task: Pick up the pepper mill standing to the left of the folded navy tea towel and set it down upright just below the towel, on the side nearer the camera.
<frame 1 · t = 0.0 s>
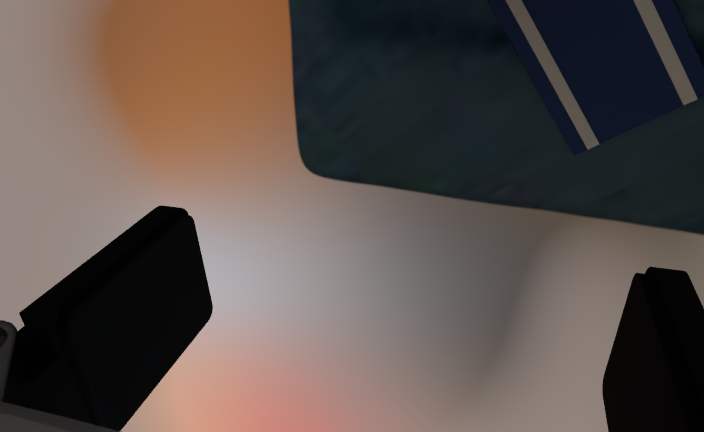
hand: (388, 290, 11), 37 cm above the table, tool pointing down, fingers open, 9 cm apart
tea towel: (584, 17, 40), on the table
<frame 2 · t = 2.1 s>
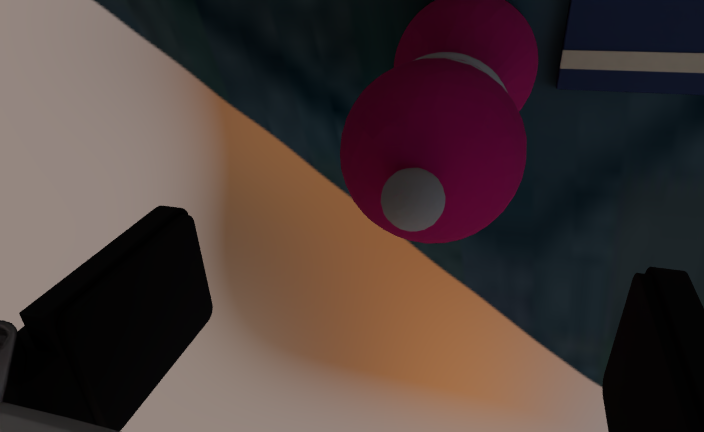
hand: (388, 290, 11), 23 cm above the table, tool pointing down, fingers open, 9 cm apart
pepper mill: (471, 48, 30), on the table
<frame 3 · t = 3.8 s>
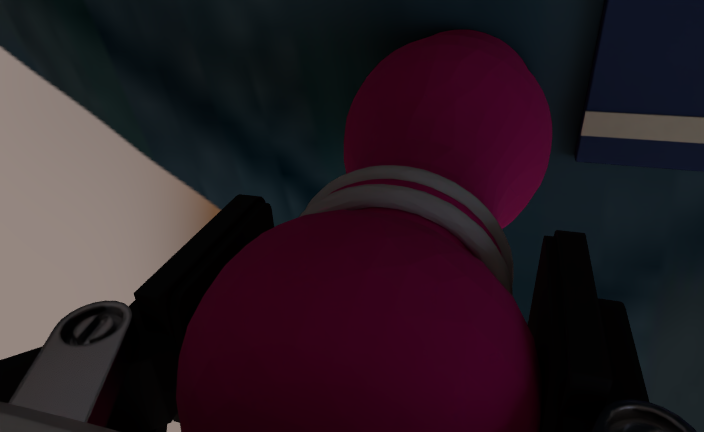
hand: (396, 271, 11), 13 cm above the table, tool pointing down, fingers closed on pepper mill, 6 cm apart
pepper mill: (458, 103, 22), on the table, touching gripper
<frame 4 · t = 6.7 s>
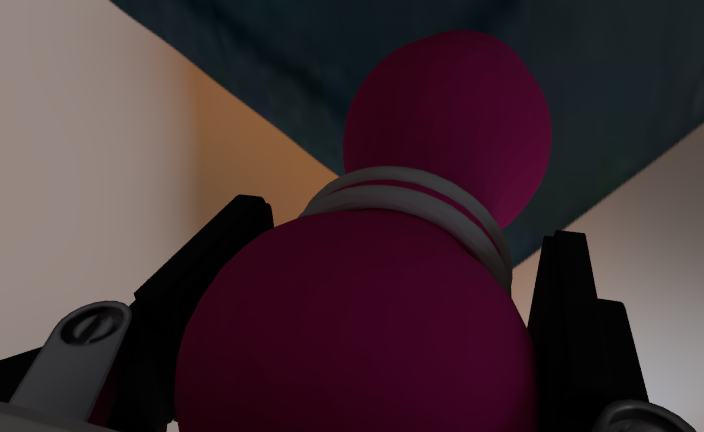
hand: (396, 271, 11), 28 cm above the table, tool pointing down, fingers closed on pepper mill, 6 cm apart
pepper mill: (458, 103, 22), point 15 cm above the table, touching gripper
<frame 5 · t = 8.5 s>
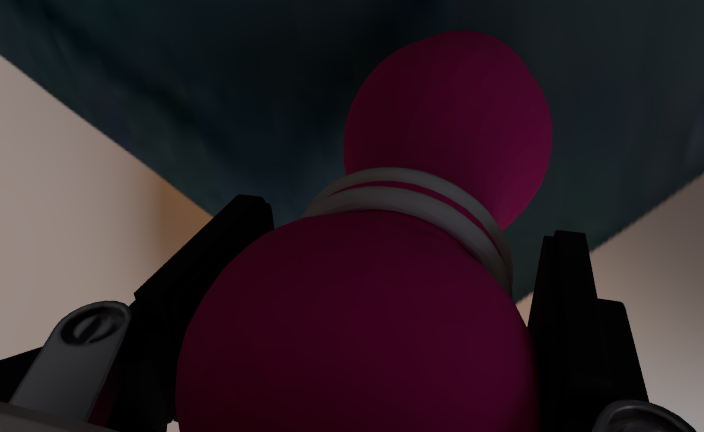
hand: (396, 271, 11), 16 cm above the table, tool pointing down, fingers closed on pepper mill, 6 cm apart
pepper mill: (458, 103, 22), point 3 cm above the table, touching gripper
when the fingers open (13 cm above the table, at t = 9.7 s): pepper mill stays where it is, on the table.
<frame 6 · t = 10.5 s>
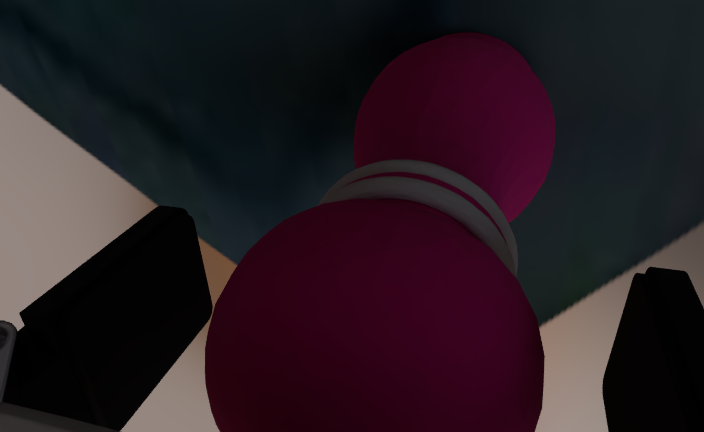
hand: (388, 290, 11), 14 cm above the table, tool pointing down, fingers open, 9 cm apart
pepper mill: (464, 103, 23), on the table
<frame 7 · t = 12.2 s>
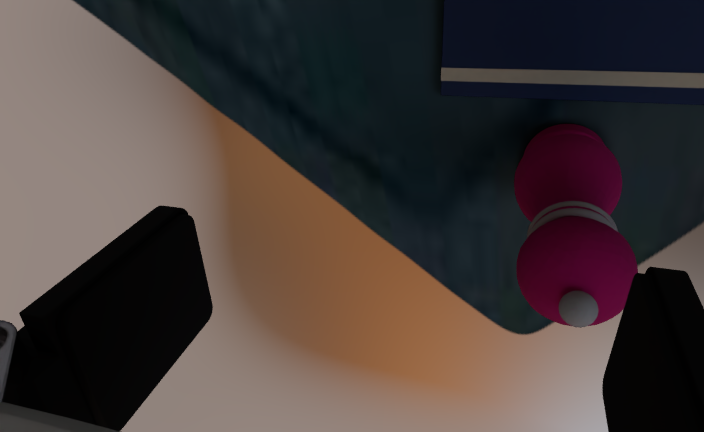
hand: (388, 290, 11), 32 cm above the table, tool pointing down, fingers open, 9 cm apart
tea towel: (587, 20, 35), on the table
pepper mill: (563, 159, 41), on the table
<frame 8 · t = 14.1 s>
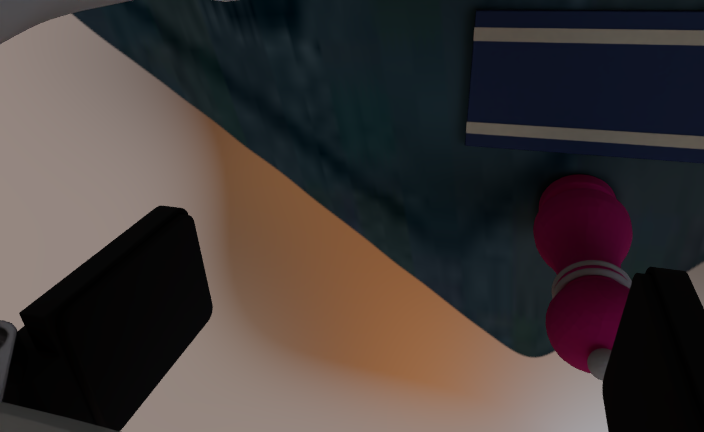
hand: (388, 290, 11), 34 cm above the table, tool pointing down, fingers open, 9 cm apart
tea towel: (602, 86, 39), on the table
pepper mill: (576, 204, 44), on the table
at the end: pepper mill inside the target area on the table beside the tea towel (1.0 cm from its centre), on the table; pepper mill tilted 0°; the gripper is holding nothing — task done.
